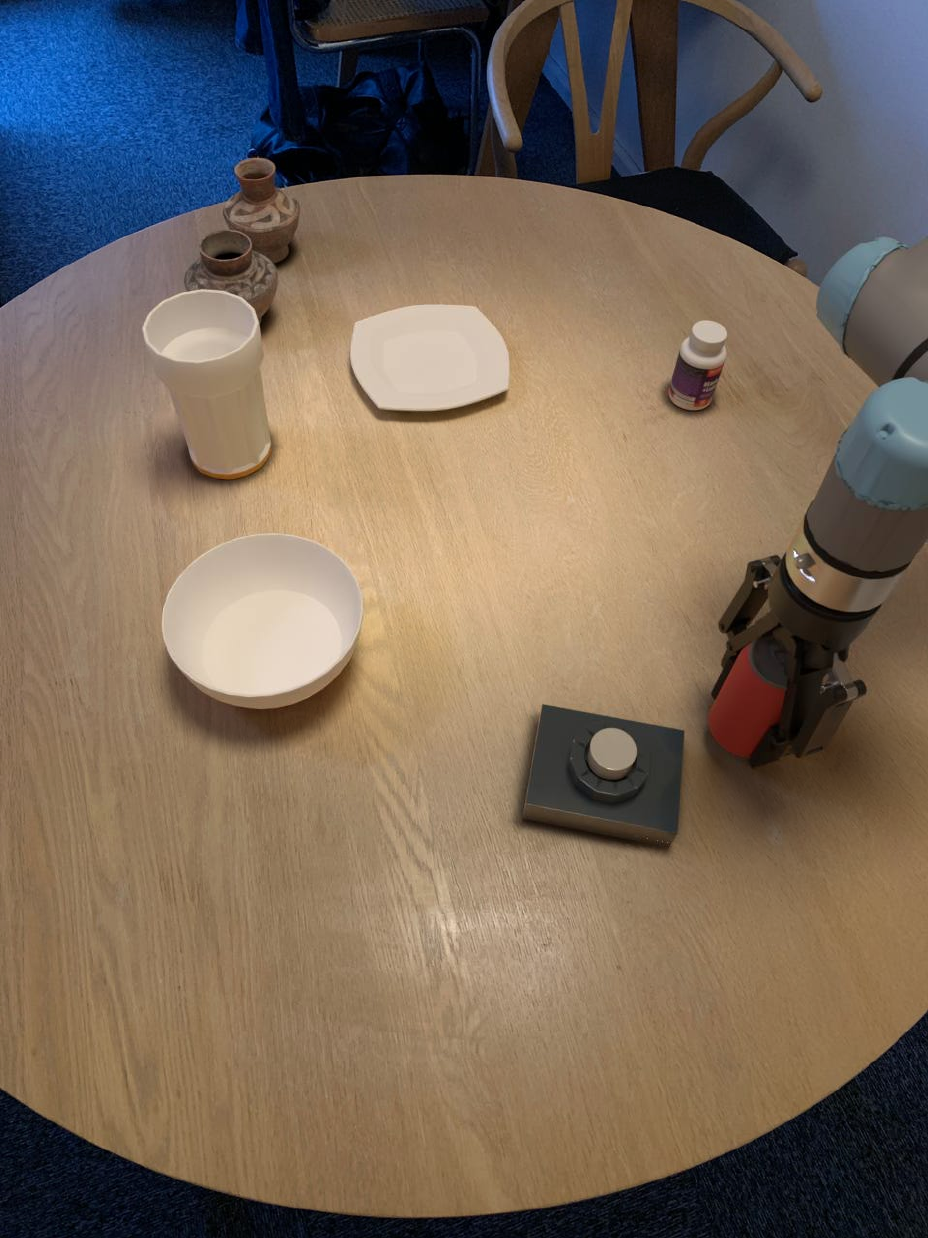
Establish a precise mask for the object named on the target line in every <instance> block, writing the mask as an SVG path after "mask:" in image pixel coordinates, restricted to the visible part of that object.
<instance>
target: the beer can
mask: <svg viewBox="0 0 928 1238" xmlns="http://www.w3.org/2000/svg"><path fill="white" fill-rule="evenodd" d="M786 656H787V655H786V653H785V651H784V649H783V647H782V645H781V644H780V643H779V642H778V641H777V640H776V638H775V636H774V635H772V636H768V637H765V638H760V639H754V641H753V642H752V643H750V644H748V645H747V646H746V647H745V648H744V649H742V650H741V652H740V654H739V656H738V657H737V659H736V661H735V663H734V665H733V667H732V669H731V671H730V673H729V675H728V676H727V678H726V680H725V682H724V684H723V686H722V688H721V690H720V692H719V694H718V696H717V698H716V700H714V702H713V703H712V705H711V707H710V709H709V712H708V717H707V718H708V720H707V721H708V722H707V723H708V726H709V731H710V733H711V735H712V736H713V738H714V740H715V742H717V743H718V744H719V745H720V746H721V747H722V748H723V749H724V750H726V752H729V753H731V754H733V755H734V756H738V757H743V758H751V756H752V755H753V753H754V751H755V750H756V748H757V747H758V745H759V744H760V742H761V741H762V739H763V738H764V736H765V735H766V733H767V731H768V730H769V728H770V727H772V726H776V725H779V724H780V718H781V713H782V707H783V702H784V696H785V691H786V690H787V687H786V685H787V679H788V677H787V676H786V675H785V674H784V667H785V661H786Z"/></svg>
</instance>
